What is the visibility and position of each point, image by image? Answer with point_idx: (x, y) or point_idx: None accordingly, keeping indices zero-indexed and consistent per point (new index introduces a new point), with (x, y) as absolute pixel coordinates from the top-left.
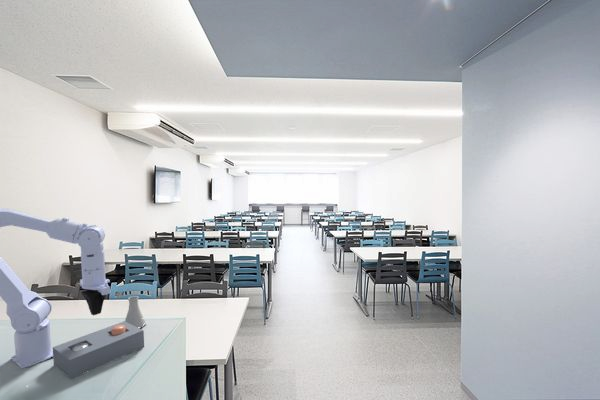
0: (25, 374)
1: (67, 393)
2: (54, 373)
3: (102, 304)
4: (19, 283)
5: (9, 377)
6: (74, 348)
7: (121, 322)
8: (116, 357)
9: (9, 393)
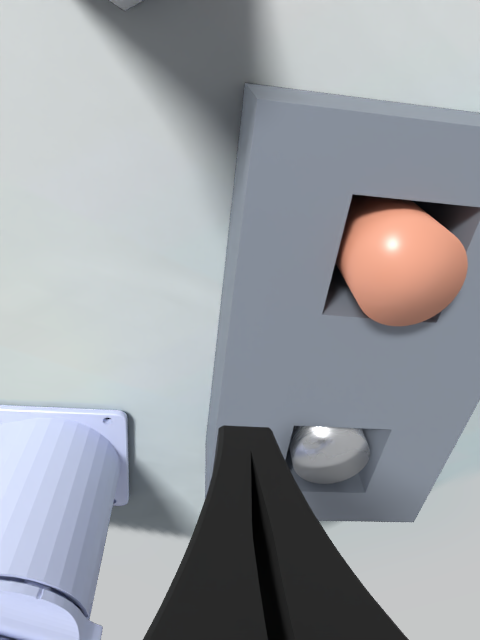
0: (180, 500)
1: (447, 478)
2: None
3: (308, 506)
4: None
5: (152, 524)
6: (321, 477)
7: (259, 137)
8: None
9: None
